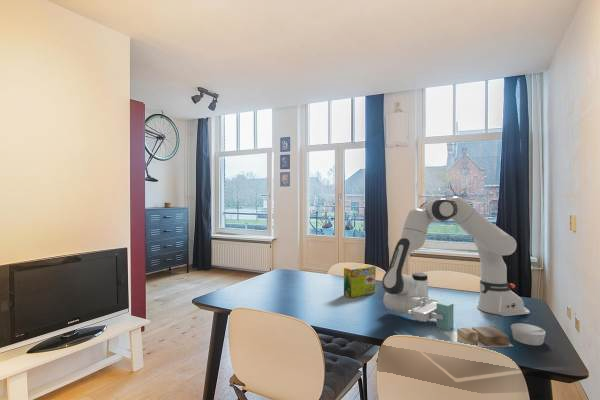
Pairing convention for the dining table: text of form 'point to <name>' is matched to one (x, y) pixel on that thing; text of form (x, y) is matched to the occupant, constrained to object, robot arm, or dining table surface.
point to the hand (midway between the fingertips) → (447, 315)
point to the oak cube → (467, 336)
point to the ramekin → (528, 334)
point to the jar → (420, 284)
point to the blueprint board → (454, 337)
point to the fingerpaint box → (359, 280)
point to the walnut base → (491, 336)
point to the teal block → (445, 315)
